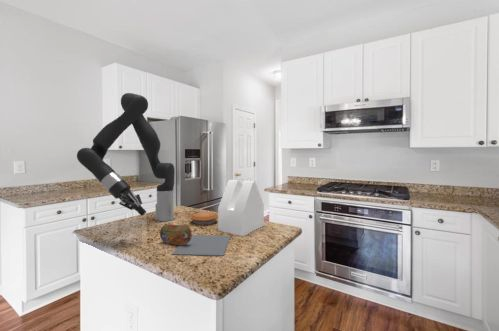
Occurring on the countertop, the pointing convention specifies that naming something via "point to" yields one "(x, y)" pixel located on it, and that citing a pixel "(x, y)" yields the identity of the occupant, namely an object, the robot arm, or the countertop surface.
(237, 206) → the milk carton
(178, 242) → the tin
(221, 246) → the mat
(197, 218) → the pie
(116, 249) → the countertop surface
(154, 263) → the countertop surface
